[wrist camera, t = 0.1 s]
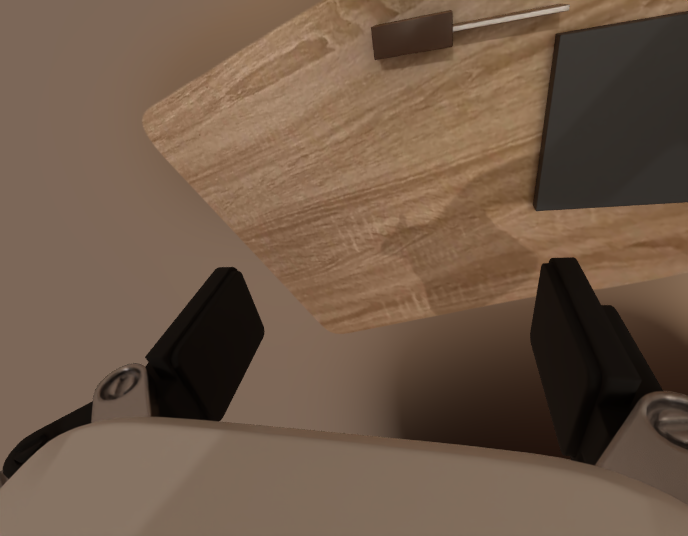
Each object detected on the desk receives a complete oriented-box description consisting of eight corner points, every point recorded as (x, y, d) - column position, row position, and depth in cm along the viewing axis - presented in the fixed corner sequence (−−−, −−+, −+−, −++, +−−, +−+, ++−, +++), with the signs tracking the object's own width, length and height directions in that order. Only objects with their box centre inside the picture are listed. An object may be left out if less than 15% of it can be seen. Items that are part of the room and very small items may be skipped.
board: (556, 33, 33) (560, 34, 31) (767, -3, 29) (781, -3, 28) (532, 205, 42) (535, 211, 41) (689, 195, 38) (697, 201, 37)
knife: (378, 56, 36) (374, 60, 34) (375, 25, 35) (371, 27, 33) (557, 24, 32) (566, 26, 30) (562, -13, 31) (572, -13, 28)
